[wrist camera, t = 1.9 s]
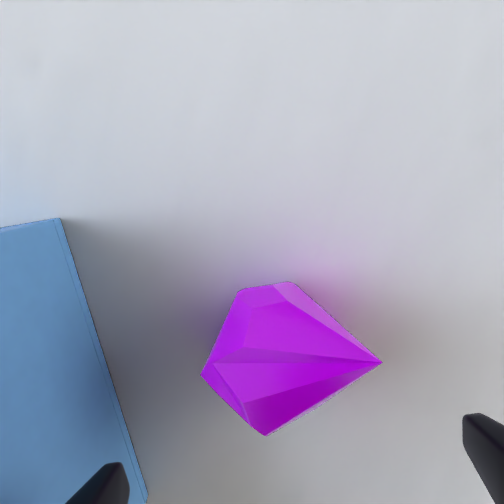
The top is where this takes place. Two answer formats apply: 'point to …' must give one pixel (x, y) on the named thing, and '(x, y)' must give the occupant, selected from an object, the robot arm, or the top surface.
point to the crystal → (282, 356)
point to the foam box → (53, 376)
